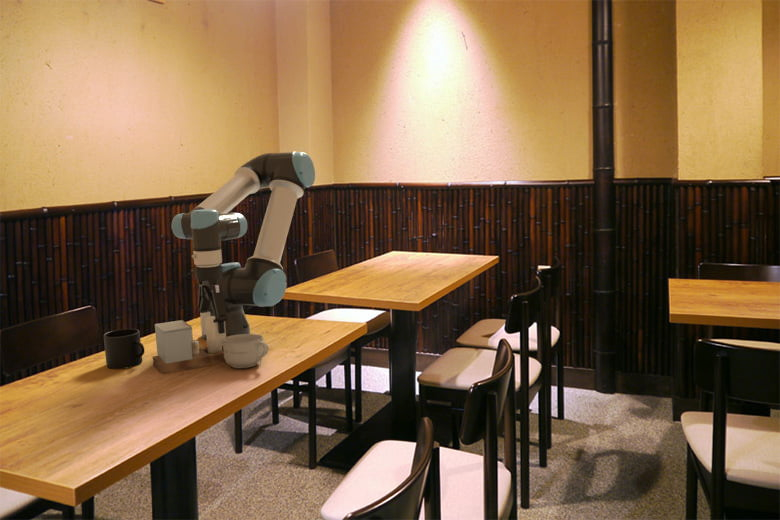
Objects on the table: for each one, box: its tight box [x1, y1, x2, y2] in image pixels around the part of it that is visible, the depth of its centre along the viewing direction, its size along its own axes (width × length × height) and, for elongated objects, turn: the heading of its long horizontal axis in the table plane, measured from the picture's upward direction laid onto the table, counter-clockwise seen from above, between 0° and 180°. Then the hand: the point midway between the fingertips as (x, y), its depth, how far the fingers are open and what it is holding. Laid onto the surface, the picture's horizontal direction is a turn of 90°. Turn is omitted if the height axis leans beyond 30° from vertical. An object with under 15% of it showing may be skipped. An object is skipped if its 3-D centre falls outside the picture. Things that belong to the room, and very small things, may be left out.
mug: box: [103, 328, 145, 370], centre depth 188 cm, size 9×12×9 cm
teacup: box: [222, 333, 269, 369], centre depth 182 cm, size 14×11×8 cm
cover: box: [154, 319, 194, 364], centre depth 184 cm, size 8×10×9 cm
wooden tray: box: [152, 339, 227, 375], centre depth 187 cm, size 20×10×6 cm, turn 121°
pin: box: [205, 316, 223, 354], centre depth 190 cm, size 4×4×12 cm
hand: (213, 339), depth 190 cm, fingers open, 13 cm apart
